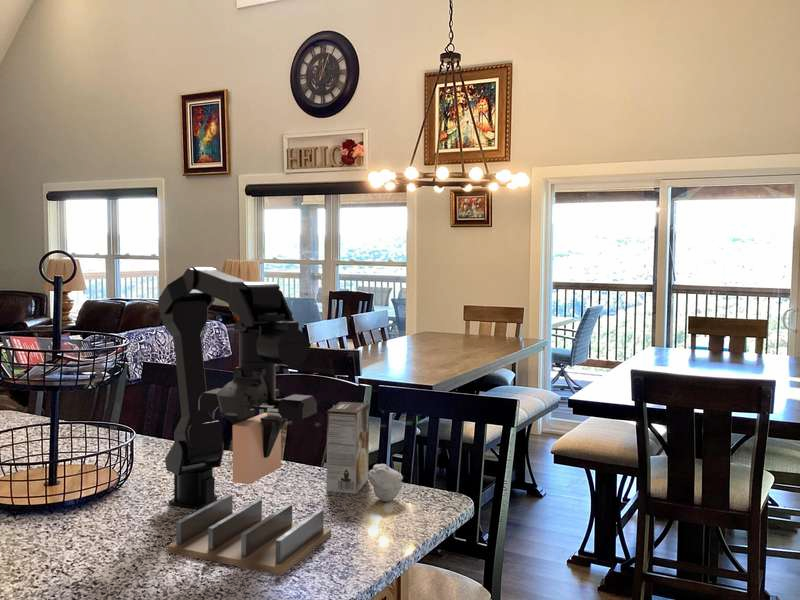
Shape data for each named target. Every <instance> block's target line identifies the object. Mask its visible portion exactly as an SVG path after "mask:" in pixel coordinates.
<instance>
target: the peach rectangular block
mask: <svg viewBox="0 0 800 600" xmlns="http://www.w3.org/2000/svg"><path fill="white" fill-rule="evenodd" d="M265 416H267V412H263V413H261V414H258V415H256V416H255V415H254V417H252V418H250V419H247V420H245V421H242V422H240V423H237V424H234V425H233V424H232V483H236V484H244V485H251V484H254V483H255V482H256V481H259V480H261V479H262V478H264V477H266V476H268V475H270V474H271V473H273V472H274V471H277V470H279V469H280V468H281V467H282V429H281V430H280V432H279V434H278V437H277V439H276V441H275V444H274V446H273V448H272V451H271V453H270V455H269V457H267V458H264V453H263V438H264V426H263V424H262V422H261V420H260V418H263V417H265Z"/></svg>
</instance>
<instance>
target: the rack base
mask: <svg viewBox="0 0 800 600" xmlns="http://www.w3.org/2000/svg"><path fill="white" fill-rule="evenodd" d="M233 513H234V512H233V511H232V514H233ZM265 518H266V517H263V516H262V520H264V519H265ZM262 520H261V521H262ZM261 521H259V522H261ZM259 522H258V523H259ZM256 524H257V523H256ZM256 524H255V525H256ZM297 524H299V522H298V523H296V522H292V526H290V527H289V528H287V529H286V530H284V531H283V532H282V533H280V534H279V535H277V536H276V537H275V538H273V539H272V540H270V541H269V542H267V543H266V544H265V545H263V546H262V547H260V548H259V549H258V550H256V551H255V552H253V553H252V554H250V555H249V556H248V557H246V558H244V557H241V534H242V533H243V532H242V533H240V534H239V535H237V536H236V537H234V538H233V539H231V540H230V541H228V542H226V543H225V544H223V545H222V546H220V547H219V548H217V549H216V550H214V551H209V550H208V529H207V530H206V531H204V532H202V533H201V534H199V535H197V536H195V537H194V538H192V539H190V540H189V541H187V542H185V543H183V544H182V545H178V544H176V540H174V541H173V542H172V543H170V544H168V545H167V547H166V548H167V549H166V550H167V553H170V554H176V555H180V556H184V557H189V558H194V559H195V558H196V559H200V560H205V561H210V562H216V563H219V564H220V563H221V564H225V565H228V566H229V565H230V566H236V567H240V568H243V569H244V568H246V569H250V570H255V571H261V572H266V573H270V574H275V575H280V576H283V575H284V574H286V573H287V571H289V570H290V569H292V567H294V566H295V565H297V564H298V563H299V562H300V561H301V560H303V559H304V558H305V557H307V555H309V554H311V552H313V550H315V549H316V548H317V547H318V546H319V545H321V544H322V543H323V542H324V541H326V540H327V539H328V538H329V537H330V536H331V535H332V529H331V528H325V527H324V530H323V531H322V532H321V533H320V534H318V535H317V536H316V537H315V538H313V539H312V540H311V541H309V542H308V543H307V544H306V545H304V546H303V547H302V548H301V549H299V550H298V551H297V552H295V553H294V554H293V555H292V556H290V557H289V558H288V559H287V560H285V561H284V562H283V563H281V564H275V555H276V539H278V538H279V537H281V536H282V535H283V534H285V533H286V532H288V531H289V530H290V529H292V528H293V527H295V526H296V525H297ZM253 526H254V525H253ZM253 526H251V527H253ZM251 527H250V528H251ZM250 528H248V529H250ZM248 529H247V530H248ZM247 530H245V531H247ZM245 531H244V532H245Z"/></svg>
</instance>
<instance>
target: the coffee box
mask: <svg viewBox="0 0 800 600" xmlns="http://www.w3.org/2000/svg"><path fill="white" fill-rule="evenodd" d="M326 416H327V417H326V425H327V426H326V490H325V491H326V492H330V493H341V494H342V493H344V494H354V495H355V494H356V493H357V494H358V492H360V490H361V489H362V488H363V486H365V484H366V483H367V481H369V480H368V476H369V475H368V474H367V472H369V446H370V445H369V444H370V442H369V438H370V437H369V436H370V435H369V432H370V402H369V403H368V402H354V401H353V402H352V401H339V402H338V403H336V404H335V405H334V406H332V407H331V408H330V409H328V410H327V413H326ZM357 494H356V495H357Z"/></svg>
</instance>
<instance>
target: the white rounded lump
mask: <svg viewBox="0 0 800 600" xmlns="http://www.w3.org/2000/svg"><path fill="white" fill-rule="evenodd" d="M367 474H368V480H367V481H368V482H369V483H370V485H371V486H372V488H373V494H374V495H375V497H376V498H377V499H379V500H380V501H382V502H391V501H394V500H395V499H396V498H397V497H398V495H399V493H400V491H401V490H402V486H403V481H402V480H403V479H404V476H403V475H402V474H401V473H400V472H399V471H397V470H395V469H393V468H391V467H389V466H388V465H387V464H385V463H380V464H379V463H375V464H374V465H373V466H372V469H370V470H368V472H367Z"/></svg>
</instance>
